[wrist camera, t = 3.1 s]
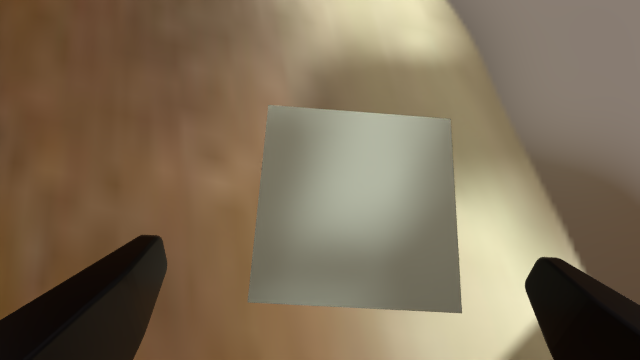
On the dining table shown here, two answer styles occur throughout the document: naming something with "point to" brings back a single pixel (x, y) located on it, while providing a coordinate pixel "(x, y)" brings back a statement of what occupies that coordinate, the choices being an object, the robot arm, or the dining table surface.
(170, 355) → the dining table surface
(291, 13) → the dining table surface
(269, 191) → the sage block
